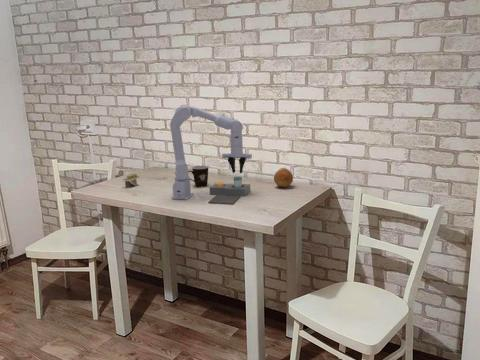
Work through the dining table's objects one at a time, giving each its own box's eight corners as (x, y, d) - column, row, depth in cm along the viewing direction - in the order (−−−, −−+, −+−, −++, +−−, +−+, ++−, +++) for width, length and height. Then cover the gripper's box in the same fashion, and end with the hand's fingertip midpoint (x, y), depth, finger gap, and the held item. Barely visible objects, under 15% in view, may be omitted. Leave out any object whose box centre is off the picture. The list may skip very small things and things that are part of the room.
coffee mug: (210, 183, 246) (209, 165, 244) (207, 187, 238) (207, 169, 236) (189, 183, 248) (188, 165, 245) (186, 187, 239) (184, 169, 237)
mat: (233, 204, 207) (233, 203, 207) (208, 203, 211) (208, 202, 210) (240, 197, 219) (240, 196, 218) (216, 196, 222) (216, 195, 222)
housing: (245, 196, 220) (245, 189, 219) (209, 194, 225) (208, 187, 224) (250, 190, 229) (250, 184, 228) (215, 189, 234) (215, 182, 233)
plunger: (222, 192, 226) (222, 184, 225) (215, 191, 227) (215, 184, 226) (224, 190, 229) (224, 182, 228) (218, 190, 230) (217, 182, 229)
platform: (152, 184, 250) (151, 173, 248) (127, 192, 235) (126, 180, 234) (137, 182, 256) (135, 170, 255) (111, 189, 242) (110, 177, 240)
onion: (270, 186, 237) (270, 167, 235) (287, 183, 241) (287, 165, 238) (278, 190, 229) (278, 171, 226) (296, 188, 232) (296, 168, 230)
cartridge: (241, 194, 224) (240, 178, 222) (233, 194, 225) (232, 178, 223) (243, 192, 227) (242, 176, 225) (235, 192, 228) (234, 176, 226)
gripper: (253, 144, 222) (253, 171, 225) (224, 143, 226) (225, 170, 229) (249, 146, 215) (250, 174, 219) (220, 146, 219) (221, 173, 223)
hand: (237, 172), depth 223 cm, fingers open, 3 cm apart
